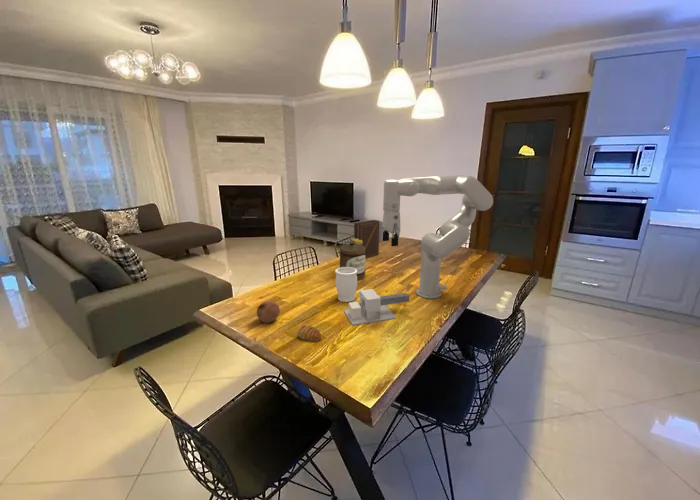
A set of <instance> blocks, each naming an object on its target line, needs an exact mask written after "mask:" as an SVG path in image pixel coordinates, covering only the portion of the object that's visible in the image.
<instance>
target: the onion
mask: <svg viewBox="0 0 700 500" xmlns="http://www.w3.org/2000/svg"><path fill="white" fill-rule="evenodd" d="M280 312H281V309H280V306H279V305H278V303H277V302H276V301H274V300H266V301H264V302H262V303H261V304H259V305H258V306H257V309H256V316H257V319H259V320H258V321H261V322H262V323H265V324H268V323H271V322H274V321H275V320H277V318H278V317H279V315H280Z"/></svg>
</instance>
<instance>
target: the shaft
mask: <svg viewBox="0 0 700 500" xmlns="http://www.w3.org/2000/svg"><path fill="white" fill-rule="evenodd" d="M379 297H380V298H381V306H382V305H386V306H387V305H394V304H395V305H396V304H402V303H408V302H410V294H409V293H407V292H404V293H395V294H387V295H381V296H379Z"/></svg>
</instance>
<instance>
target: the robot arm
mask: <svg viewBox="0 0 700 500" xmlns="http://www.w3.org/2000/svg"><path fill="white" fill-rule="evenodd" d="M417 194H422V195H423V194H424V195H432V196H439V195H441V196H443V195H457V194H459V195H460V194H462V195H463V196H462V199H461V200H462V201H461V206H460V207H461V208H460V209H459V211H458V212H457V213H456V214H454V215H453V216H452V217H451V218H449V219H448V220H447V221H445V222H444V223H443V224H442V225H441V226H440V227H439V234H440V235H439V234H436V233H433V232H428V233H426V234H424V236H422V238H421V240H420V252H421V261H420V272H419V273H420V275H419V276H420V277H419V287H418V288H417V289H416V290H415V293H416V294H417V295H418V296H419V297H421V298H424V299H431V300H432V299H437V298H438V299H439V298H440V297H441V296H442V290H443V291H444V290H448V286H447V285H442V284H440V278H441V277H440V276H441V274H440V273H441V264H442V259H444V258H447V257H449V256H450V255H451V254H453V253H454V252H455V251H456V250H458V249H460V247H462V246H463V245H464V244H465V243H467V242H468V240H469V239H470V234H471V230H470V228H469V227H470V226H471V225H472V224H473V223H474V222H475V219H476V216H477V211H483V212H484V211H488V210H489V209H491V207H492V206H493V204H494V197H493V195H492V193H490V191H489V190H487V188H486V187H485V186H484V185H483V184H482V183H481V182H480V180H478V179H477V178H475V177H474V176H472V175H464V174H462V175H461V174H459V175H458V174H457V175H456V174H455V175H440V176H439V175H438V176H435V175H434V176H433V175H432V176H425V177H424V176H422V177H421V176H420V177H402V178H400V179H386V180H384V182H383V200H382V201H383V203H382V204H383V205H382V211H383V214H382V215H383V217H382V222H381V225H382V242H389V241H391V243H390V246H391V247H398V246H399V238H400V234H401V212H400V208H401V196H403V197H414V196H415V195H417ZM390 234H391V238H390ZM390 239H391V240H390Z"/></svg>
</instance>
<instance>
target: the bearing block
mask: <svg viewBox="0 0 700 500" xmlns="http://www.w3.org/2000/svg"><path fill="white" fill-rule="evenodd" d="M359 305H360V307H361V318H359V319H352V318H351V316H350V315H349V308H348V309H344V310H343V313H344V314H345V316H346V317H347V319H348V320H349V322H350V324H351V326H357V325H364V324H370V323H377V322H382V321H389V320H395V319H397V316H396V315H395V314H394V313H393V312H392V311H391V309H389V308H388V307H387V305H382V306H381V298H380V296H379V294H378V293H377V292H376V291H375V290H374V289H373V288H369V289H362V290H361V289H360V290H359Z"/></svg>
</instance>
